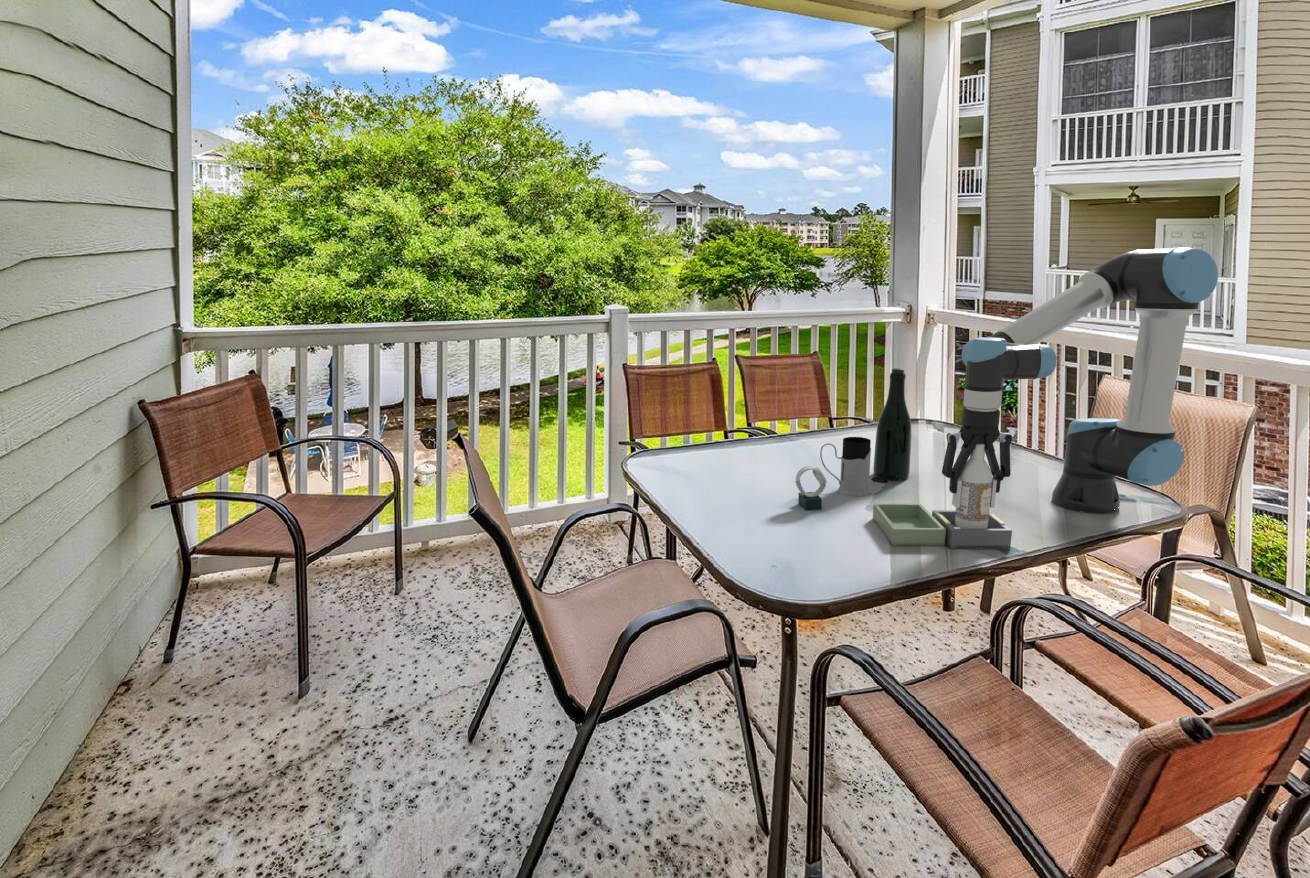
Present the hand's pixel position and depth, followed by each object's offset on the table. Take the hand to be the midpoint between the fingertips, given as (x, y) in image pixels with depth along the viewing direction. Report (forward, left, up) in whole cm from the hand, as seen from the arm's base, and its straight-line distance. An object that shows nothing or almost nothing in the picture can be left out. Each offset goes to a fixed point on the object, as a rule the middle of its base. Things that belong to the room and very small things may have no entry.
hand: (972, 505), depth 156 cm
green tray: (+13, -4, -8) cm, 16 cm away
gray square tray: (0, 0, -8) cm, 8 cm away
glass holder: (+21, -36, -8) cm, 43 cm away
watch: (+33, -22, -8) cm, 41 cm away
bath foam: (0, 0, -5) cm, 5 cm away
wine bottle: (+4, -50, -8) cm, 51 cm away
